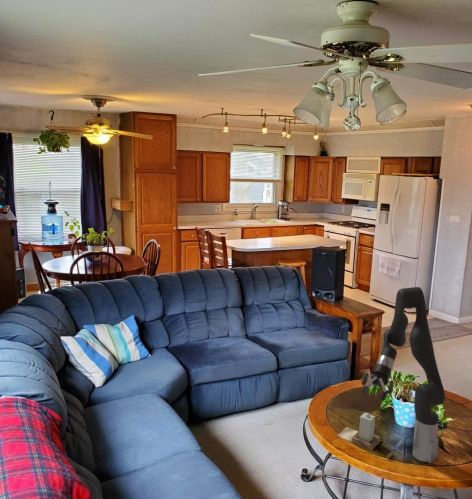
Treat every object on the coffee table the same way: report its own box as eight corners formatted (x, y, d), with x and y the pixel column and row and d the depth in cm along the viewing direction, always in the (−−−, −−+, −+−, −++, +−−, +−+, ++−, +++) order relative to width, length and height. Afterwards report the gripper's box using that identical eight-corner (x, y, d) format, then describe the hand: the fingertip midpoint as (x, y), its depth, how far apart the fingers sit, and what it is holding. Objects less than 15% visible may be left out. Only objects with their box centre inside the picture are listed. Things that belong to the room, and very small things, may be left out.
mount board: (380, 442, 208) (380, 436, 207) (371, 452, 200) (371, 446, 200) (346, 429, 219) (346, 423, 218) (336, 438, 211) (337, 432, 211)
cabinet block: (373, 440, 207) (375, 413, 205) (368, 445, 204) (370, 418, 202) (363, 436, 211) (364, 410, 209) (358, 441, 207) (360, 414, 205)
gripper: (368, 359, 222) (356, 389, 215) (396, 367, 213) (385, 399, 206) (371, 366, 226) (360, 396, 219) (400, 374, 217) (389, 405, 210)
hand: (372, 397), depth 212 cm, fingers open, 8 cm apart
